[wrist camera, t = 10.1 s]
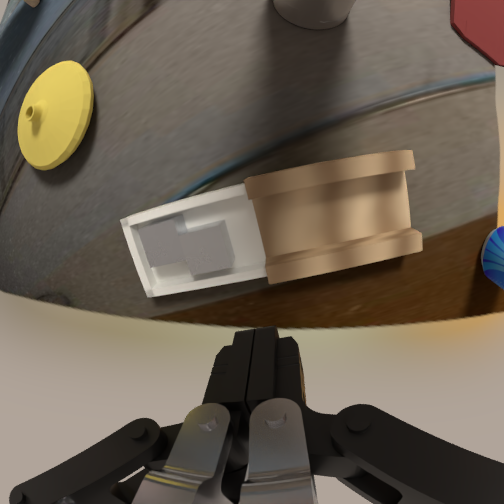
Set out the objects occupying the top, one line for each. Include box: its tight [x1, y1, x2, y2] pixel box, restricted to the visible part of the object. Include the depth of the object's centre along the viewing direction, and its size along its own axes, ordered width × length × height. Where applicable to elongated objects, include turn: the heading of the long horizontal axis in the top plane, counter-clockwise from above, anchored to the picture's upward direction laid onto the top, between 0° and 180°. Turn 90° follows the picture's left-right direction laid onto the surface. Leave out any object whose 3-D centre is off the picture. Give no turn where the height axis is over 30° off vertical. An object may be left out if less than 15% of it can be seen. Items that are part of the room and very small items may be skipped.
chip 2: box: [179, 219, 235, 275], centre depth 29 cm, size 4×4×3 cm
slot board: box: [244, 150, 422, 284], centre depth 27 cm, size 18×11×4 cm, turn 104°
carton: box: [450, 0, 504, 67], centre depth 15 cm, size 12×5×25 cm
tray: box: [120, 183, 267, 298], centre depth 30 cm, size 15×10×3 cm, turn 104°
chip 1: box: [138, 214, 187, 268], centre depth 29 cm, size 4×4×3 cm
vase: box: [18, 61, 94, 170], centre depth 24 cm, size 16×16×7 cm
